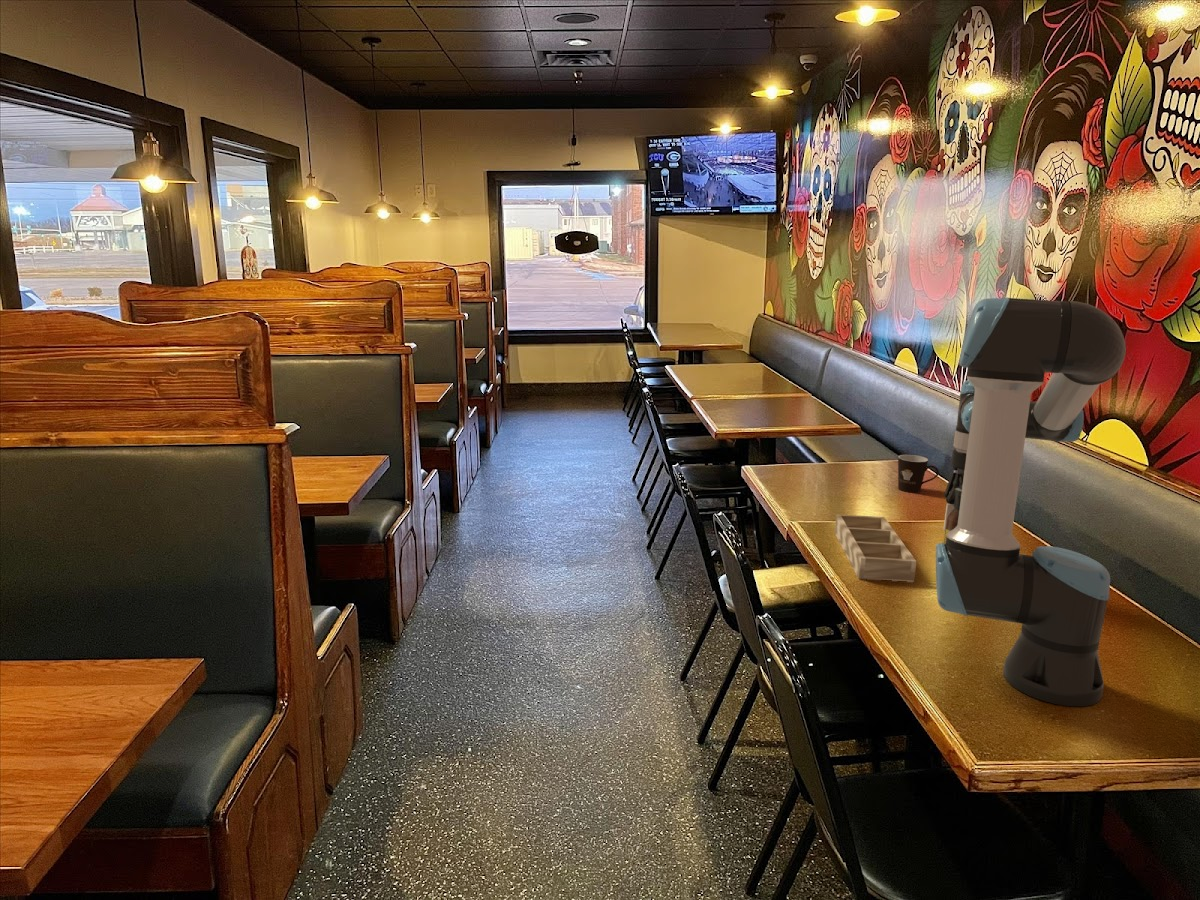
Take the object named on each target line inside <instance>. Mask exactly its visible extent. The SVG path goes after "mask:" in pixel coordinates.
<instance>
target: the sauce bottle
mask: <svg viewBox="0 0 1200 900" xmlns="http://www.w3.org/2000/svg"><path fill="white" fill-rule="evenodd" d="M961 494H962V490H961V489H959V488H956V489H955V503H954V509H953V510H952V511H951V512H950V514H949V515H948V517H947V524H946V528H945V531H944V536H943V543H944V544H946V537H947V533H948V532H950V531H951V530H953V529H954V528H956V526H957V525H958V517H959V510H960V502H961Z"/></svg>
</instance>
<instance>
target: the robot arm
mask: <svg viewBox="0 0 1200 900" xmlns="http://www.w3.org/2000/svg"><path fill="white" fill-rule="evenodd" d="M1126 349H1127V347H1126V341H1125V338H1124V334H1123V332H1122V330H1121V328H1120V326H1119V325H1118V324H1117V322H1116V321H1115V320H1114V319H1113V317H1111V316H1110V315H1108V314H1107V313H1106V312H1105V311H1104V310H1102V309H1100V308H1098V307H1096V306H1094V305H1093V304H1092V305H1091V304H1090V303H1085V302H1082V301H1076V300H1075V301H1073V300H1068V301H1065V300H1062V301H1061V300H1045V299H1031V298H1014V297H1013V298H1012V297H997V298H983V299H981V300H979V301H978V302H976V303H975V306H974V307H973V308H972V311H971V314H970V317H969V320H968V325H967V327H966V330H965V334H964V337H963V341H962V346H961V352H960V355H959V356H960V357H959V360H958V361H959V362H958V364H959V366H960V367H963V368H964V369H965V368H967V372H966V379H967V380H965V381H963V383H962V385H961V390H960V393H959V404H958V411H957V418H956V419H957V421H956V427H955V432H954V439H953V444H952V446H953V447H954V449H953V450H952V456H951V461H950V464H951V466H952V469H951V473H950V476H949V479H948V482H947V485H946V489H945V492H944V495H943V496H944V498H945V502H946V505H945V506H946V507H945V515H944V523H943V528H942V529H943V531H944V532H945V528H946V524H947V517H948V515H949V514H950V512H951V511H952V510H953V509H954V503H955V489H956V488H959V489H961V490H962V494H961V502H960V510H959V517H958V525H957V526H956V528H954V529H953V530H951V531H950V532H948V533H947V537H946V544H944V542H941V543H937V544H936V545H935V578H936V579H935V581H936V598H937V603H938V605H939V607H940V608H941V609H942V610H944V611H946V612H949V613H953V614H954V613H955V614H960V615H963V616H964V617H968V616H971V617H972V616H973V617H976V618H977V617H978V618H982V619H990V620H994V621H995V620H996V621H1003V622H1009V623H1016V624H1022V625H1021V629H1020V634H1019V636H1018V637H1017V639H1016V641H1015V642H1014V644H1013V646H1012V647H1011V649H1010V651H1009V653H1008V655H1007V656H1006V657H1005V660H1004V665H1003V670H1002V675H1003V677H1004V679H1005V680H1006V682H1007V683H1008V684H1009V685H1011V686H1012V687H1013V688H1014V689H1016V690H1017V691H1019V692H1021V693H1023V694H1025V695H1028V696H1029V697H1032V698H1034V699H1036V700H1040V701H1043V702H1046V703H1050V704H1055V705H1059V706H1066V707H1088V706H1092V705H1094V704H1097V703H1099V702H1100V701H1101V699H1102V696H1103V692H1104V687H1105V686H1104V685H1105V684H1104V677H1103V673H1102V668H1101V662H1100V658H1099V657H1100V656H1099V645H1100V640H1101V637H1102V630H1103V626H1104V621H1105V620H1104V619H1105V617H1106V616H1105V614H1106V609H1107V604H1108V601H1109V599H1110V585H1111V575H1110V572H1109V571H1108V568H1106V567H1105V566H1104V565H1103V564H1101V563H1100V562H1099V561H1097V560H1095V559H1093V558H1091V557H1089V556H1087V555H1084V554H1083V553H1080V552H1077V551H1074V550H1071V549H1067V548H1062V547H1059V546H1052V545H1048V546H1043V545H1041V546H1038V547H1036V548H1035V549H1034V550H1033V551H1032V554H1031V555H1029V554H1021V552H1020V551H1021V543H1020V542H1019V541H1018V540H1017V538H1016V537H1015V536H1014V535H1013V529H1014V522H1015V521H1014V519H1015V513H1016V506H1017V500H1018V499H1017V498H1018V492H1019V486H1020V477H1021V470H1022V462H1023V456H1024V448H1025V440H1026V439H1031V440H1040V441H1041V440H1042V441H1050V442H1051V441H1052V442H1056V443H1061V442H1065V443H1066V442H1068V443H1069V442H1070V443H1072V442H1073V443H1074V442H1077V441H1078V440H1079V439H1080V437H1081V433H1082V432H1083V428H1084V420H1085V418H1084V417H1085V415H1084V413H1085V412H1084V410H1083V409H1084V407H1085V406H1086V405H1087V403H1088V401H1089V400H1090V399H1091V397H1092V396H1093V395H1094V393H1095V392H1096V390H1098V388H1099V386H1100V385H1102V384H1104V383H1106V382H1108V381H1110V380H1111V379H1112V378H1113V377H1114V376H1115V375H1117V373H1118V372H1119V370H1120V369H1121V367H1122V365H1123V363H1124V360H1125V357H1126V353H1127V351H1126ZM1048 373H1049V374H1051V376H1050V377H1049V379H1048V381H1047V383H1046V384H1045V386H1044V387H1043V390H1042V392H1041V394H1040V395H1039V397H1038V399H1037V401H1031V399H1032V398H1031V397H1032V394H1033V392H1034V391H1036V390H1037V389H1038V388H1040V387H1041V386H1043V384H1044V380H1045V374H1048Z"/></svg>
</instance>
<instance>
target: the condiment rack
mask: <svg viewBox="0 0 1200 900" xmlns="http://www.w3.org/2000/svg"><path fill="white" fill-rule="evenodd" d="M835 515H836V516H835V524H834V534H835V536H836V538H837V540H838V542H839V544H840V546H841V548H842V549H843V552H844V553H845V555H846V557H847V559H848V561H849V563H850V565H851V567H852V569H853V571H854V573H855V575H856V576H857V579H858V580H866V579H867V580H869V581H881V580H892V581H891V582H897V581H907V582H906V583H913V582H914V583H915V575H916V571H917V570H916V569H917V560H916V559H915V557H914V556H913V554H912V553H911V552H910V550H909V549H908V548H907V547H906V545H905V543H904V542H903V541H902V539H901V538H900V537H899V535H898V534H897V533H896V531H895V530H894V528H893V527H892V526H891V524H890V523H889V522H888V520H887V519H886V518H885V517H884V516H873V515H872V516H871V515H856V514H855V515H854V514H853V515H852V514H835Z"/></svg>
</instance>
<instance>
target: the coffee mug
mask: <svg viewBox="0 0 1200 900" xmlns="http://www.w3.org/2000/svg"><path fill="white" fill-rule="evenodd" d="M928 462H929V458H927V457H925V456H921V455H917V454H916V455H915V454H900V455H898V456H897V477H898V478H897V481H898V483H897V484H898V486H897V487H898V490H899V491H901V492H904V493H910V494H911V493H912V494H913V493H914V494H917V493H921V489H922V485H924V484H927V483H928V482H931V481H933V480H935V479H936V478H937V477H938V476H939V473H940V472H939V471H940V470H939V469H938V467H936V466H934V465H928ZM929 468H932V469H934V470H935V471H936V474H935V476H934V477H932V478H929V479H926V480H924V478H925V473H926V472H927V470H928V469H929Z"/></svg>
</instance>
